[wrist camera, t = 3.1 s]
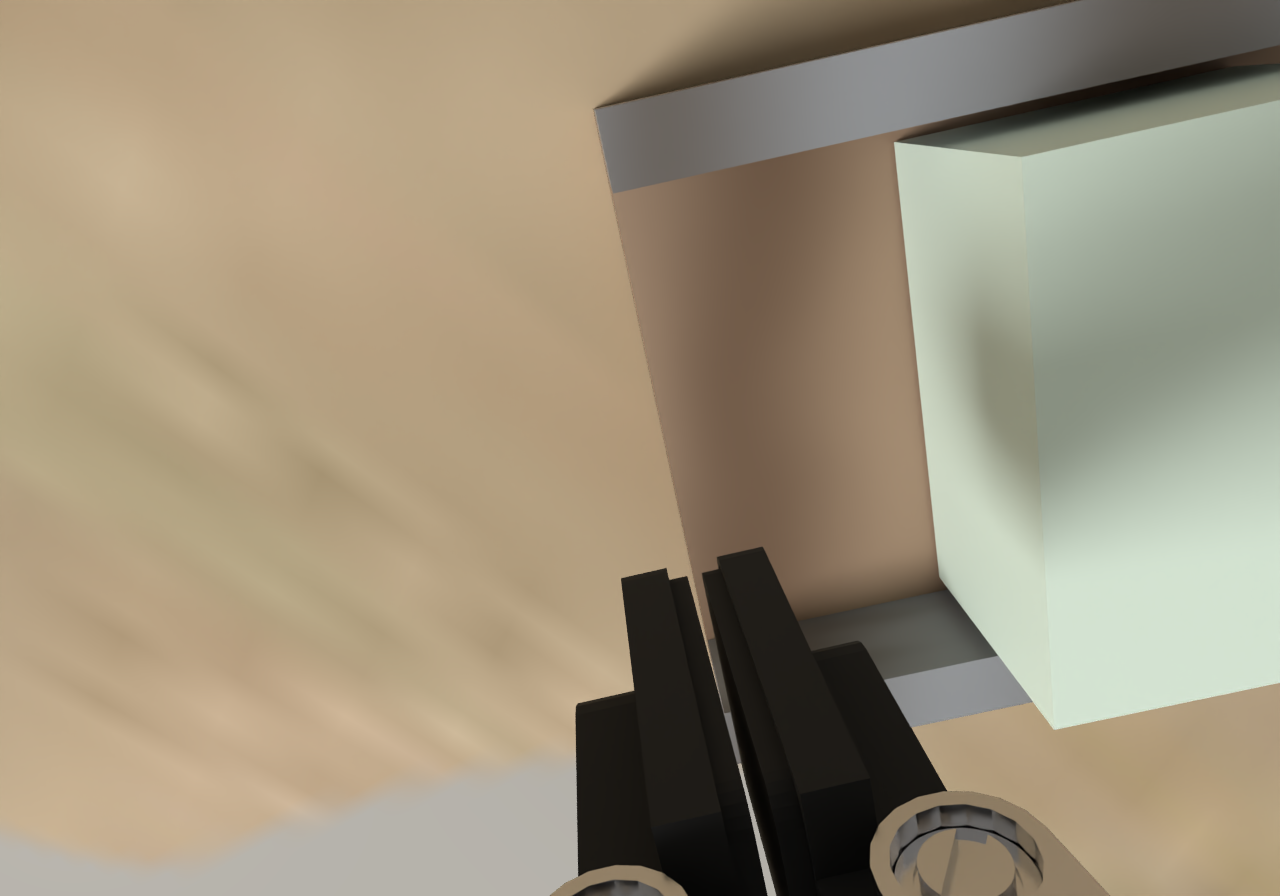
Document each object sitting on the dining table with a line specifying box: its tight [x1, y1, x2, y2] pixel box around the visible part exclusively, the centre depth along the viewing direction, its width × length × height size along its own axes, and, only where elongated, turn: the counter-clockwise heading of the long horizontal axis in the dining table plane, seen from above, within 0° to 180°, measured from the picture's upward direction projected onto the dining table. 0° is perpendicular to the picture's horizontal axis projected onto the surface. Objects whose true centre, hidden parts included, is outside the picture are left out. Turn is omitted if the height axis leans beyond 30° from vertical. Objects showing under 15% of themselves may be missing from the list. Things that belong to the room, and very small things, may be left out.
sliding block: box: [894, 64, 1280, 730], centre depth 15 cm, size 6×9×5 cm
